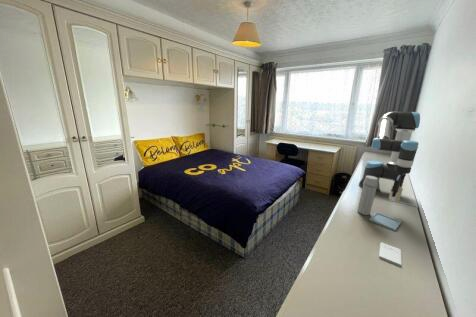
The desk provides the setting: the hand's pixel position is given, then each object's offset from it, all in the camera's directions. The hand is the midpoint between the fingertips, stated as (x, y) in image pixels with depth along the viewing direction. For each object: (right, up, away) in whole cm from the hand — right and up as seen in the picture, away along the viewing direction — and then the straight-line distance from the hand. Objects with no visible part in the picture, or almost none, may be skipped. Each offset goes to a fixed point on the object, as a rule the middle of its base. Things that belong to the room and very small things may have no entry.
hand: (393, 199), depth 125 cm
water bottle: (-19, -10, +1) cm, 21 cm away
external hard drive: (-29, -20, -33) cm, 48 cm away
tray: (-12, -12, -8) cm, 18 cm away
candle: (0, -1, 0) cm, 1 cm away
